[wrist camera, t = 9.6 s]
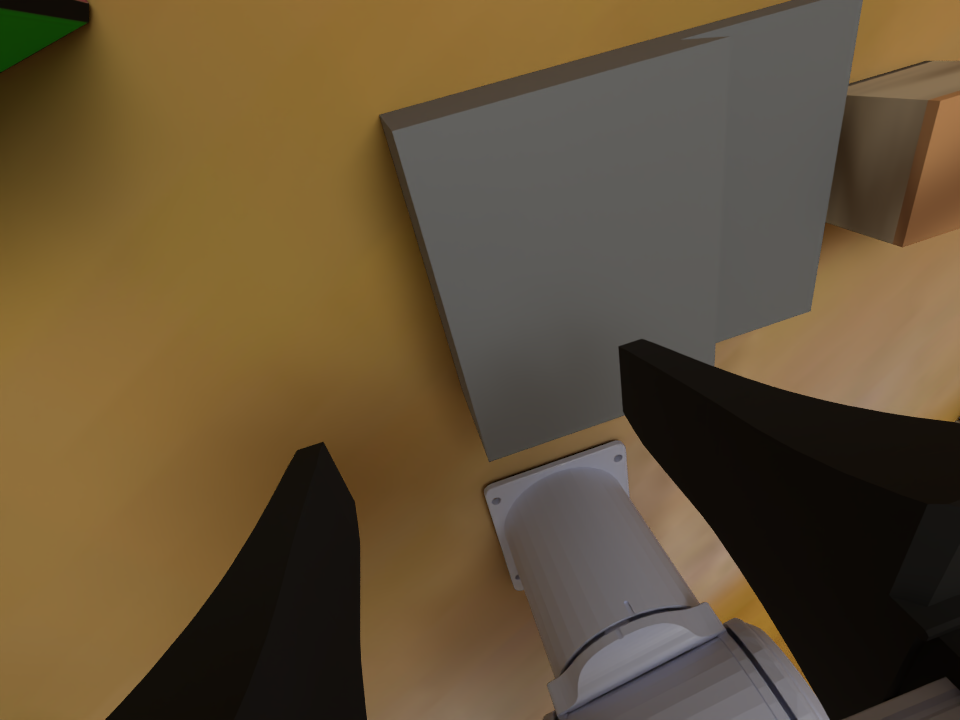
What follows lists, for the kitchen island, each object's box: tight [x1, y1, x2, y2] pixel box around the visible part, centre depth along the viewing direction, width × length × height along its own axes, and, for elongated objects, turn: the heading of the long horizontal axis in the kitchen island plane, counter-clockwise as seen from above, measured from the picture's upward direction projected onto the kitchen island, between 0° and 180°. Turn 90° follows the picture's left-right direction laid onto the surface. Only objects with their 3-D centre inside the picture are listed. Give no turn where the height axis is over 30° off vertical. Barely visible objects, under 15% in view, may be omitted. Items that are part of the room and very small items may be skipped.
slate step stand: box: [379, 0, 863, 462], centre depth 19 cm, size 12×16×5 cm
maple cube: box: [826, 61, 960, 247], centre depth 20 cm, size 5×5×5 cm
